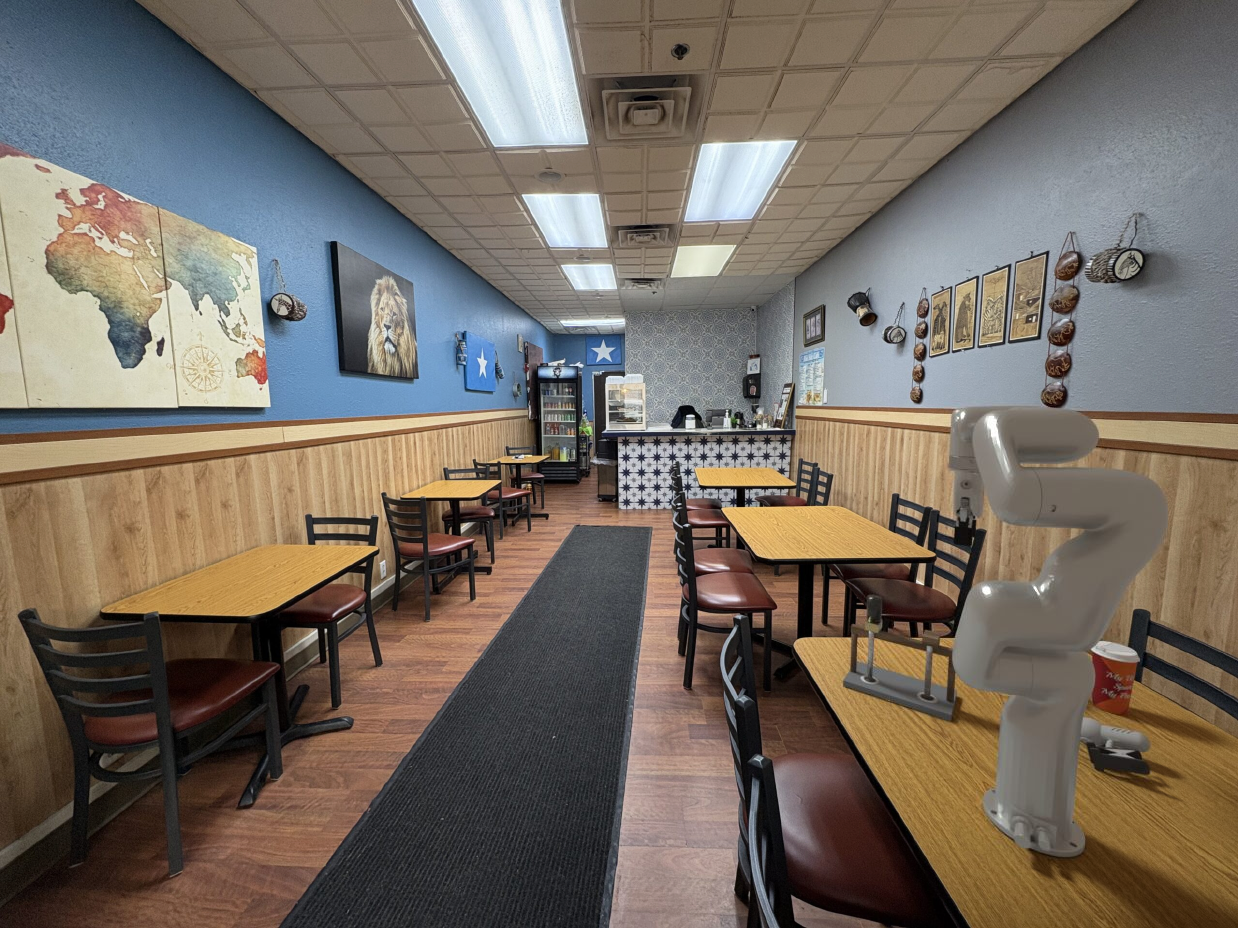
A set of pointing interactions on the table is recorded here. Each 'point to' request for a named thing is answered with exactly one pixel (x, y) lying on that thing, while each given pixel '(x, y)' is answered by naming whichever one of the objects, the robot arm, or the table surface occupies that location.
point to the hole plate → (901, 690)
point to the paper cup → (1113, 676)
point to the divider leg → (873, 626)
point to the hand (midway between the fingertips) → (964, 540)
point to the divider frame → (927, 644)
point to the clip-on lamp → (1112, 757)
